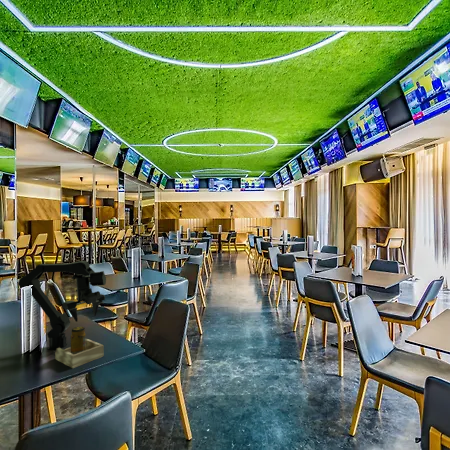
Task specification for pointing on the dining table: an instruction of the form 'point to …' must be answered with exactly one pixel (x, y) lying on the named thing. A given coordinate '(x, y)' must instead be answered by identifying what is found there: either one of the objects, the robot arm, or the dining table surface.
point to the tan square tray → (80, 354)
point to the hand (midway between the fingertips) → (85, 318)
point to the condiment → (78, 340)
